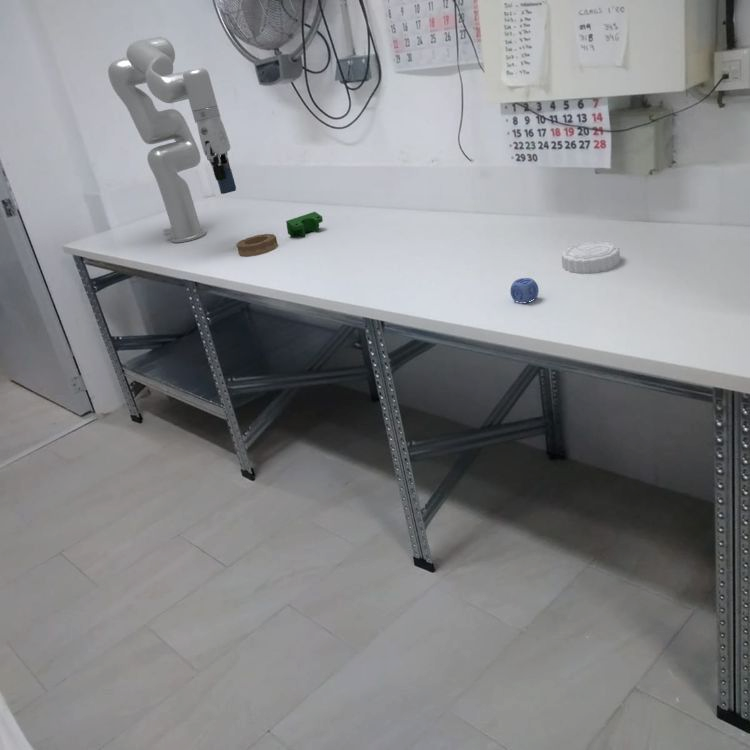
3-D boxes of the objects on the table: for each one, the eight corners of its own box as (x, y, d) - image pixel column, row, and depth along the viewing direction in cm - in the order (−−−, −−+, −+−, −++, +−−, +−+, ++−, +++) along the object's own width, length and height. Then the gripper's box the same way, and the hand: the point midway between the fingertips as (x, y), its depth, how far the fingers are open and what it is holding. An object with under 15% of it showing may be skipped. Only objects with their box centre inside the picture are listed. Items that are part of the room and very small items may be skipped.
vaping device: (219, 193, 224) (207, 153, 219) (235, 189, 225) (224, 149, 220) (220, 194, 222) (209, 154, 217) (237, 190, 223) (226, 150, 218)
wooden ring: (233, 258, 221) (231, 248, 219) (246, 246, 231) (244, 237, 230) (270, 253, 218) (268, 243, 217) (282, 241, 228) (279, 232, 227)
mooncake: (630, 265, 154) (630, 248, 153) (577, 279, 153) (576, 262, 152) (603, 251, 165) (602, 236, 164) (553, 264, 164) (552, 248, 162)
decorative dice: (524, 295, 150) (522, 276, 148) (539, 298, 147) (537, 279, 145) (511, 301, 148) (508, 283, 147) (526, 305, 145) (524, 286, 143)
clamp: (303, 249, 231) (290, 230, 224) (294, 243, 234) (282, 224, 228) (329, 227, 232) (318, 207, 226) (320, 221, 236) (309, 201, 230)
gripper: (207, 116, 206) (225, 181, 213) (228, 108, 221) (245, 170, 228) (183, 121, 208) (202, 186, 215) (205, 113, 222) (223, 174, 230)
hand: (224, 177), depth 222 cm, fingers closed on vaping device, 4 cm apart
